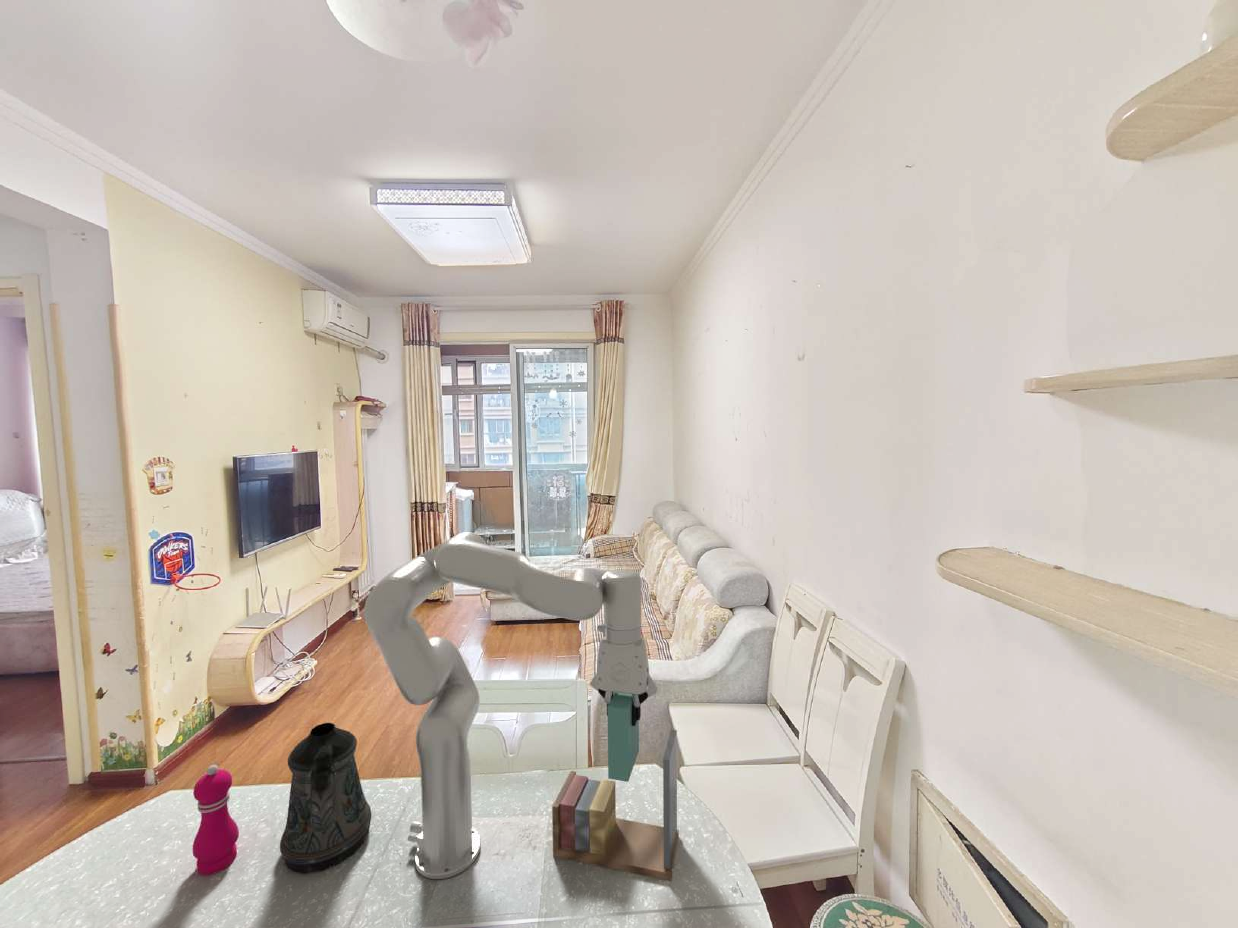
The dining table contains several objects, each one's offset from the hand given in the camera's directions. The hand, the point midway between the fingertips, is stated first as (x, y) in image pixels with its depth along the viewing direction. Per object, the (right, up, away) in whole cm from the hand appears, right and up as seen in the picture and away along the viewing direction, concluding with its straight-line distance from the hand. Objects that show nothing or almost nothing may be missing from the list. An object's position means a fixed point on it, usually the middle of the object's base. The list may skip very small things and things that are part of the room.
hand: (623, 719), depth 102 cm
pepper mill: (-82, -28, -1) cm, 86 cm away
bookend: (+9, -25, -1) cm, 27 cm away
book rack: (-1, -27, +2) cm, 27 cm away
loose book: (0, -9, +1) cm, 9 cm away
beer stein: (-61, -28, +3) cm, 67 cm away
